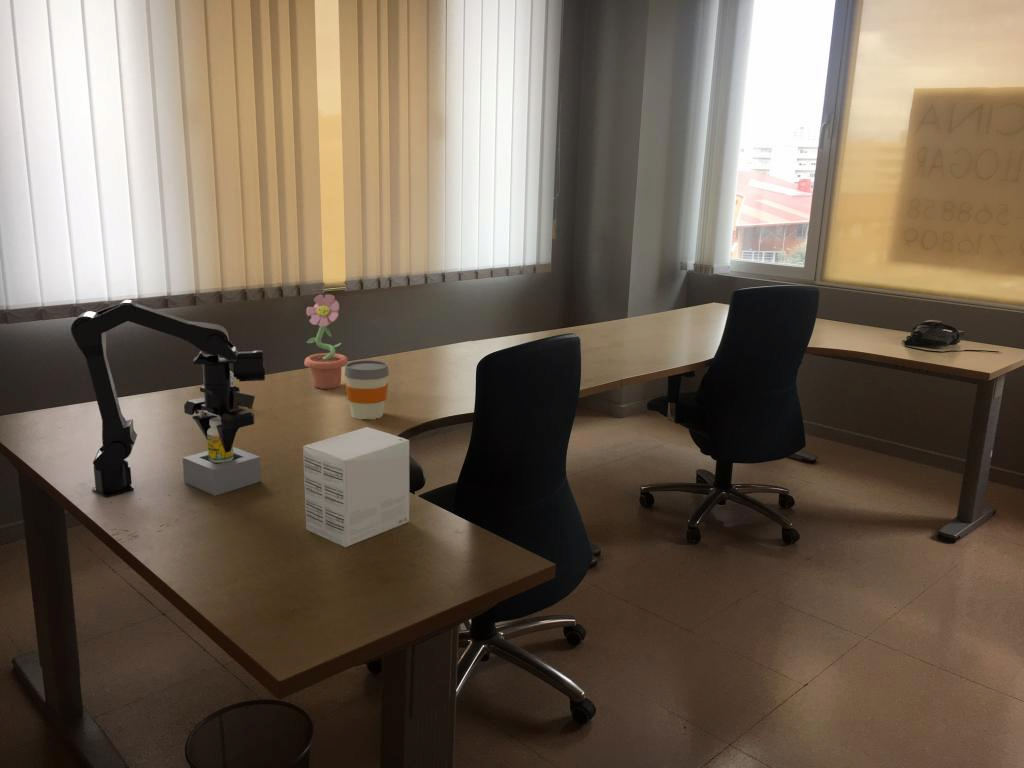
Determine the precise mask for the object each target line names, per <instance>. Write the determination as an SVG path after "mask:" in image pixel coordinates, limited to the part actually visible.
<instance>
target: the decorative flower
mask: <svg viewBox="0 0 1024 768" xmlns="http://www.w3.org/2000/svg"><path fill="white" fill-rule="evenodd" d="M335 298H336V297H335V295H333V294H329V293H328V294H327V293H326V294H325V295H323V294H318V295H316V296H315V297H314V298H313V302H314V303H315V304H314V305H313V306H308V307H307V308H306V312H305V313H306V315H307V317H311V318H310V319H309V323H310V324H311V325H313V326H318V327H319V328H318V331H317V334H316V337H311V338H309V339H308V340H307V341H306V343H307V344H312V343H314V342H315V343H316V346H317V347H319V348H320V349H322V350H326V351H329V352H326V353H325V352H323V353H315V354H311V355H309V356H307V357H306V358H305V359H304V366H305V367H307V368H310V369H311V376H312V383H313V386H314V387H315V388H317V389H319V388H320V390H332V389H336V388H338V387H340V385H341V383H342V368H343V367H344V368H345V365H346V364H347V363H349V360H348V357H347V356H346V355H344V354H341V353H336V348H338V347H340V345H341V344H342V342H340V343H339V342H338V343H337V344H335V345H332V344H328V343H324V342H322V338H323V335H324V333H325V334H326V335H327V336H329V337H330V338H332V337H333V336H332V333H331V331H330V329H329V328H328V327H327V326H329V325H330V324H332V323H334V322H335V321H337V319H338V317H339V311H340V304H339V301H337V300H336V299H335Z"/></svg>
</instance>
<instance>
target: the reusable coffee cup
mask: <svg viewBox="0 0 1024 768" xmlns="http://www.w3.org/2000/svg"><path fill="white" fill-rule="evenodd" d="M344 376H345V379H346V383H345V389H346V395H347V397H346V398H347V401H349V406H350V412H351V417H352V418H353V417H354V418H353V419H356V418H357V420H362V419H371V420H377V419H380V418H382V417H383V416H384V407H385V401H386V400H387V394H388V387H389V384H388V377H389V365H388V363H387V362H384V361H379V360H371V359H369V360H368V359H367V360H363V359H362V360H355V361H350V362H348V363H347V364H346V365H345V366H344ZM376 418H377V419H376Z"/></svg>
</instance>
